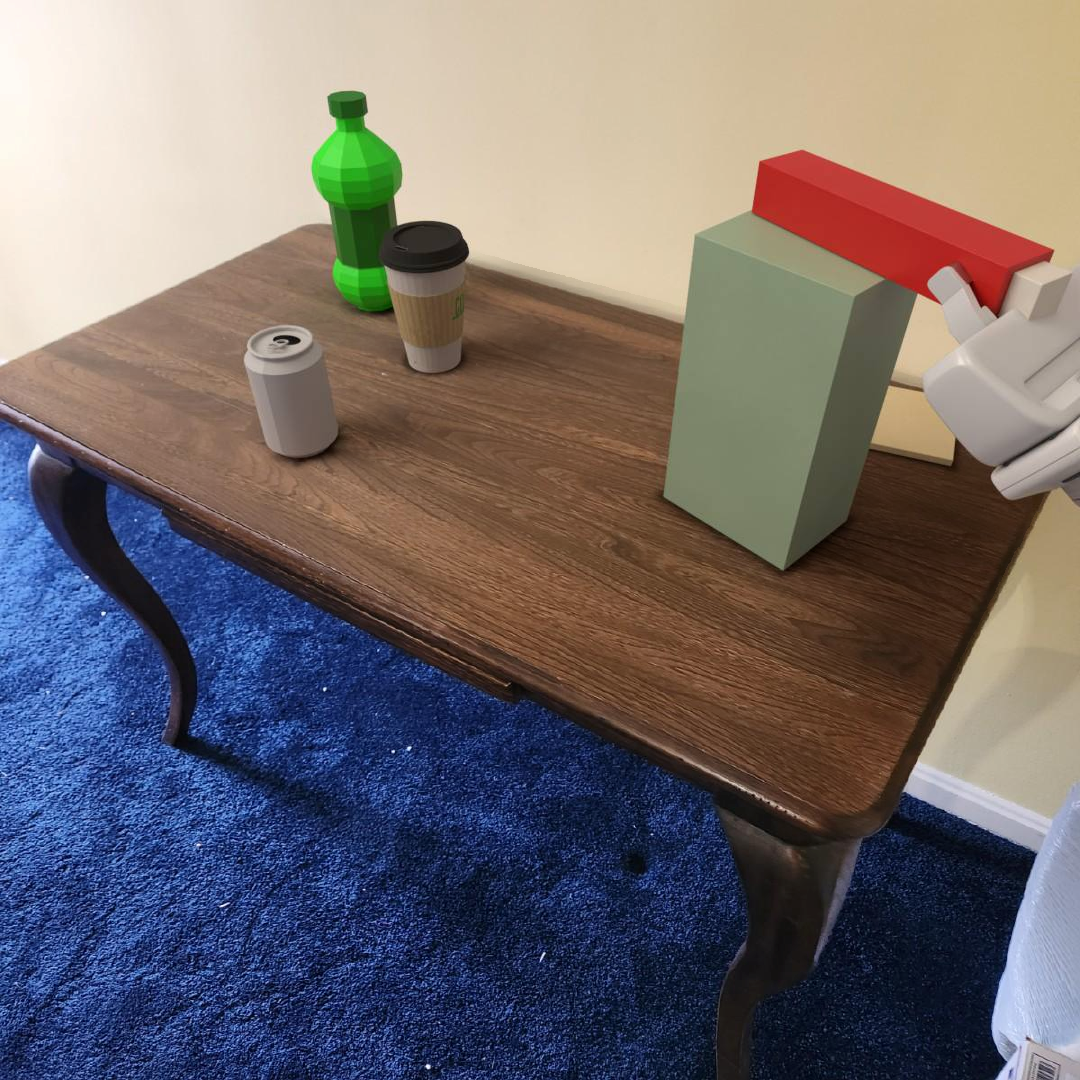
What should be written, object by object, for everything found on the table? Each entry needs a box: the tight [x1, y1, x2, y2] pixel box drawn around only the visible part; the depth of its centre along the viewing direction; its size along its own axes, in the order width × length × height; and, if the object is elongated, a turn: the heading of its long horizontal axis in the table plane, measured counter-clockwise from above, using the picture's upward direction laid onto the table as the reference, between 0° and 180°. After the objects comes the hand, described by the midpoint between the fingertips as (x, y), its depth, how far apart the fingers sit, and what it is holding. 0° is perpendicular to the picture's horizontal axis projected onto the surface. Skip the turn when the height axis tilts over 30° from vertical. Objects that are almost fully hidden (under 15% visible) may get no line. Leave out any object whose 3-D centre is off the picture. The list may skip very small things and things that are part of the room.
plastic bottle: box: [310, 90, 403, 313], centre depth 105 cm, size 10×10×25 cm
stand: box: [662, 209, 919, 572], centre depth 73 cm, size 14×10×26 cm
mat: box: [869, 385, 956, 467], centre depth 93 cm, size 20×12×1 cm, turn 67°
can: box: [243, 324, 339, 459], centre depth 86 cm, size 8×8×12 cm
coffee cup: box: [379, 220, 470, 374], centre depth 97 cm, size 10×10×15 cm
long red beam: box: [751, 149, 1073, 320], centre depth 60 cm, size 24×4×4 cm, turn 32°
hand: (963, 257), depth 56 cm, fingers closed on long red beam, 5 cm apart
